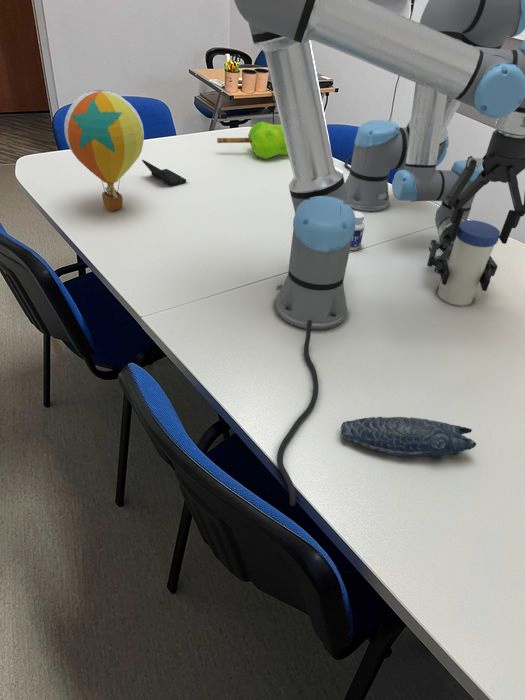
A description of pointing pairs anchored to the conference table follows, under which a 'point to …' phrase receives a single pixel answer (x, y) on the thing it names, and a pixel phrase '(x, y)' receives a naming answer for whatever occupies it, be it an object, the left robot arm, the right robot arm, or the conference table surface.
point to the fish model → (407, 436)
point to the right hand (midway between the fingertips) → (466, 282)
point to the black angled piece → (165, 175)
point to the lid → (478, 233)
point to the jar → (464, 272)
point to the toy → (105, 138)
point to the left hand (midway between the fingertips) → (477, 238)
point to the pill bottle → (357, 231)
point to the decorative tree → (263, 140)
